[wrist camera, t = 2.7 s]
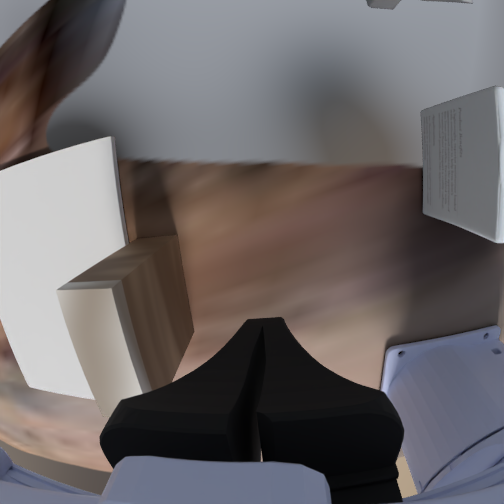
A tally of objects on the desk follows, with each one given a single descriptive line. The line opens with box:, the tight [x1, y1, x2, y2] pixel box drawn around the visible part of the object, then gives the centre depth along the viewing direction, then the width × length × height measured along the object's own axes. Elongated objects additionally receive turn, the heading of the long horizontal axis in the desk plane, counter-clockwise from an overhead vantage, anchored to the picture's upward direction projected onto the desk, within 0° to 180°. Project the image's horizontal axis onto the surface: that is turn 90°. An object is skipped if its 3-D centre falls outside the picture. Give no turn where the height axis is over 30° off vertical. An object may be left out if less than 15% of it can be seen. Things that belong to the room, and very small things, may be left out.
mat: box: [0, 136, 129, 400], centre depth 19 cm, size 14×18×1 cm
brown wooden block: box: [56, 235, 194, 418], centre depth 14 cm, size 2×6×8 cm, turn 5°
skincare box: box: [421, 86, 504, 243], centre depth 12 cm, size 6×6×7 cm
